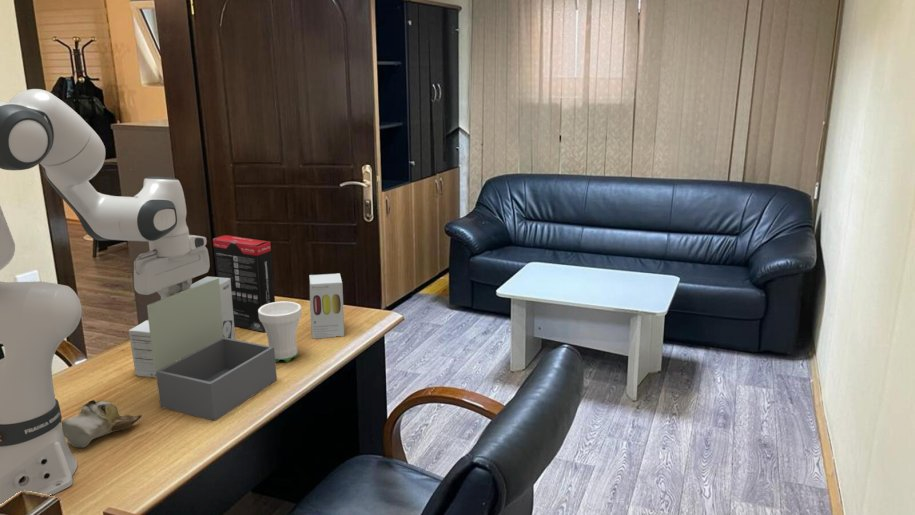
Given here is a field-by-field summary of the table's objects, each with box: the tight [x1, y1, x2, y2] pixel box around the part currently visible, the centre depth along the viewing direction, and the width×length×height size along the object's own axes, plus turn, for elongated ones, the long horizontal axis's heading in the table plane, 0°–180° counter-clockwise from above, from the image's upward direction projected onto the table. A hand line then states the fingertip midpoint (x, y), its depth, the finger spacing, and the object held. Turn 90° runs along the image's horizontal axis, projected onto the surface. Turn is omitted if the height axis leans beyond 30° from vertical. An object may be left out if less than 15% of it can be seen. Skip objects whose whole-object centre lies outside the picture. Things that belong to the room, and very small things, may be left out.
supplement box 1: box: [128, 319, 176, 379], centre depth 173 cm, size 7×7×13 cm
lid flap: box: [146, 278, 223, 371], centre depth 162 cm, size 22×17×5 cm
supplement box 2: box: [308, 272, 345, 340], centre depth 198 cm, size 10×9×17 cm
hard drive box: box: [181, 276, 236, 359], centre depth 183 cm, size 16×8×20 cm, turn 168°
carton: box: [156, 337, 278, 422], centre depth 162 cm, size 22×16×9 cm
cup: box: [258, 300, 302, 363], centre depth 181 cm, size 11×11×14 cm
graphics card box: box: [212, 234, 276, 333], centre depth 202 cm, size 17×7×27 cm, turn 65°
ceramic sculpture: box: [61, 399, 143, 449], centre depth 144 cm, size 11×9×15 cm
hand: (176, 301), depth 161 cm, fingers open, 4 cm apart
